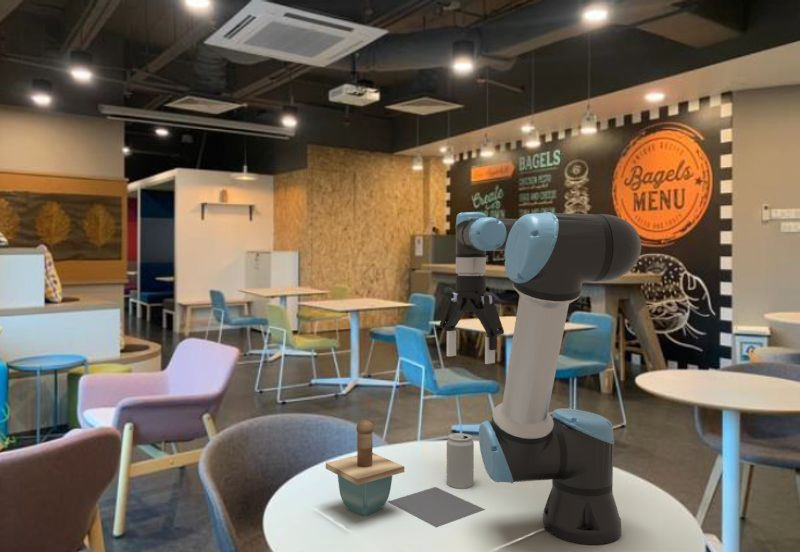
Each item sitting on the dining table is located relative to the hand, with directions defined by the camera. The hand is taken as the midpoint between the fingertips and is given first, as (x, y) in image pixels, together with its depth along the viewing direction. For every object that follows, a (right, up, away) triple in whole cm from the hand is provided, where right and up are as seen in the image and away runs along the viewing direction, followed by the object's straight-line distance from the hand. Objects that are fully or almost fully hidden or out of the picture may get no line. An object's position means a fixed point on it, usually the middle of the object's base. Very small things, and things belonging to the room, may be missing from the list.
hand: (470, 359), depth 152 cm
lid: (-25, -20, -23) cm, 40 cm away
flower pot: (-25, -30, -23) cm, 45 cm away
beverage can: (-3, -29, -8) cm, 30 cm away
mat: (-10, -29, -21) cm, 37 cm away
